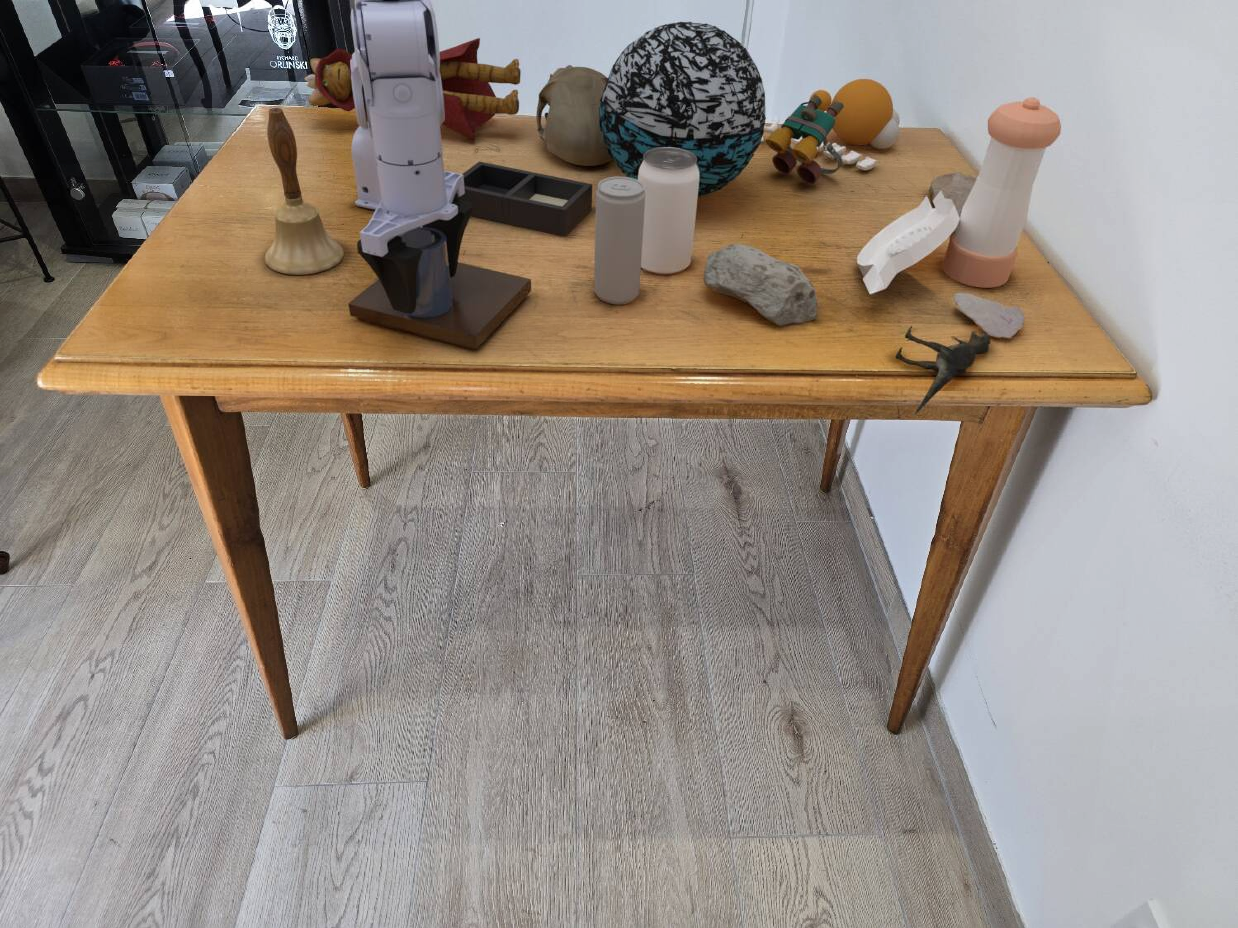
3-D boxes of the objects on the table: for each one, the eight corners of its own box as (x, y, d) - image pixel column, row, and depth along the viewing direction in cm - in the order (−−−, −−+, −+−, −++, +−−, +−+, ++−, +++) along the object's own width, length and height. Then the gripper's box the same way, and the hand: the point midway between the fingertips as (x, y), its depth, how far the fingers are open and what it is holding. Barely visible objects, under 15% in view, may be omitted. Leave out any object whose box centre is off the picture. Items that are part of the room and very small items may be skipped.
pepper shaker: (974, 293, 96) (1035, 115, 84) (928, 264, 101) (979, 91, 89) (1022, 280, 99) (1088, 106, 87) (974, 252, 104) (1031, 83, 91)
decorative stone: (694, 317, 91) (699, 273, 87) (708, 268, 99) (713, 226, 95) (814, 334, 89) (824, 290, 86) (818, 283, 97) (827, 241, 94)
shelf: (351, 321, 87) (347, 303, 86) (415, 268, 96) (412, 251, 95) (476, 354, 84) (475, 336, 83) (531, 296, 92) (531, 279, 91)
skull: (598, 94, 130) (609, 25, 120) (625, 189, 123) (639, 124, 113) (521, 98, 127) (526, 27, 117) (544, 194, 120) (551, 128, 110)
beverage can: (634, 309, 91) (641, 199, 83) (589, 303, 92) (591, 193, 84) (642, 287, 95) (649, 179, 87) (599, 281, 95) (602, 173, 88)
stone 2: (1006, 348, 89) (1014, 332, 88) (938, 317, 92) (945, 301, 91) (1027, 325, 92) (1034, 309, 91) (961, 295, 95) (967, 279, 94)
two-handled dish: (981, 189, 103) (976, 175, 102) (925, 274, 86) (918, 258, 86) (900, 222, 110) (894, 209, 109) (833, 307, 93) (826, 292, 93)
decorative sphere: (637, 239, 103) (648, 57, 90) (572, 172, 117) (573, 7, 104) (784, 214, 110) (814, 41, 97) (706, 154, 123) (723, -4, 110)
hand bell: (359, 250, 98) (335, 104, 88) (310, 282, 93) (278, 130, 82) (300, 233, 101) (270, 89, 91) (248, 264, 95) (210, 114, 85)
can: (697, 255, 101) (708, 151, 93) (681, 280, 96) (692, 174, 88) (643, 244, 102) (649, 141, 95) (625, 269, 98) (630, 163, 90)
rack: (449, 211, 107) (446, 185, 105) (480, 186, 113) (479, 161, 111) (565, 236, 103) (565, 210, 101) (592, 209, 109) (592, 184, 107)
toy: (806, 171, 128) (910, 155, 127) (807, 105, 121) (917, 88, 120) (793, 141, 134) (893, 126, 133) (794, 78, 127) (898, 61, 127)
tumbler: (390, 311, 85) (380, 244, 81) (417, 287, 89) (409, 222, 84) (436, 322, 84) (428, 255, 79) (461, 298, 88) (456, 232, 83)
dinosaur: (925, 325, 92) (988, 355, 90) (851, 404, 79) (923, 442, 76) (939, 295, 90) (1004, 325, 88) (866, 371, 76) (940, 409, 74)
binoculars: (770, 180, 123) (754, 129, 114) (810, 132, 124) (797, 77, 115) (825, 203, 118) (812, 150, 109) (866, 153, 119) (856, 97, 110)
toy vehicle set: (866, 165, 119) (862, 178, 121) (879, 157, 122) (876, 170, 123) (791, 136, 125) (789, 149, 126) (806, 129, 127) (803, 142, 128)
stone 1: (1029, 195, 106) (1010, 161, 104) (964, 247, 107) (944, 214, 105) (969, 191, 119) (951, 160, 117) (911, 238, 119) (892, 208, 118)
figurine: (513, 137, 118) (293, 130, 119) (526, 169, 131) (328, 162, 132) (519, 18, 118) (299, 11, 119) (531, 61, 131) (332, 55, 132)
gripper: (404, 193, 70) (422, 337, 79) (489, 133, 81) (496, 267, 90) (329, 177, 72) (355, 320, 81) (421, 121, 83) (435, 253, 91)
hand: (425, 291), depth 86 cm, fingers open, 7 cm apart
